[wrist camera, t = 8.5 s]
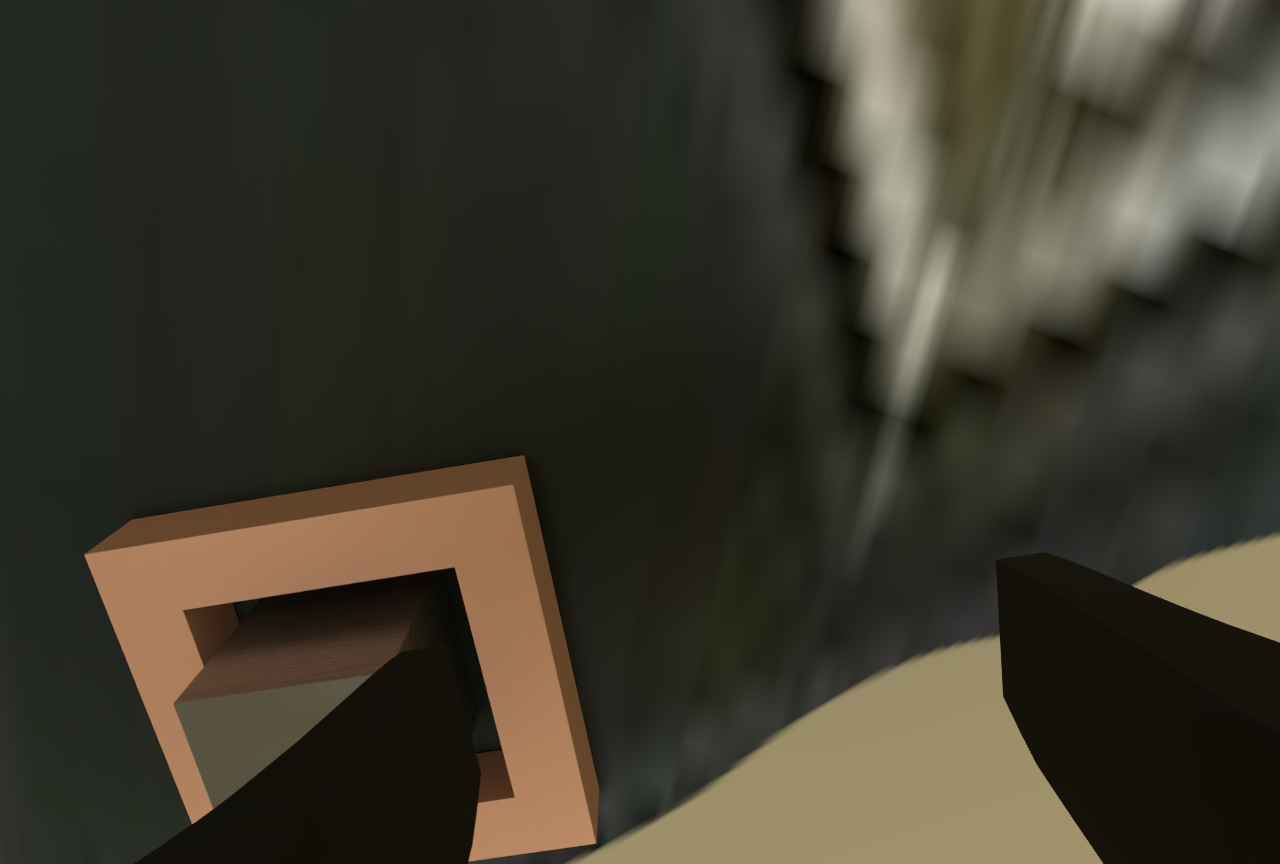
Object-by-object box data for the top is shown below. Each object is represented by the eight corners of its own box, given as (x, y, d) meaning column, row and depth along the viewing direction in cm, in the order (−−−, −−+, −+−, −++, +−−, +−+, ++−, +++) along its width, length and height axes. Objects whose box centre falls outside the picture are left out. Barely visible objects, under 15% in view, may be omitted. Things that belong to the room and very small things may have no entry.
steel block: (317, 733, 24) (239, 877, 19) (270, 587, 23) (173, 703, 18) (479, 710, 24) (439, 850, 19) (440, 561, 23) (388, 672, 18)
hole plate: (252, 839, 25) (221, 896, 23) (132, 519, 22) (84, 554, 20) (599, 789, 25) (596, 843, 23) (524, 454, 22) (513, 484, 20)
